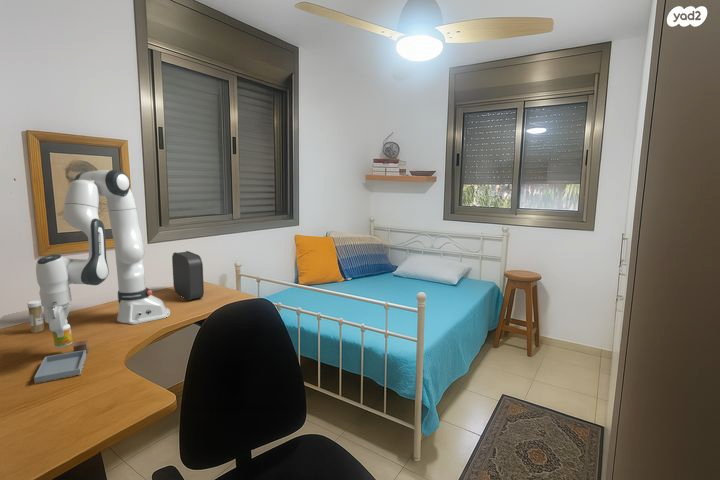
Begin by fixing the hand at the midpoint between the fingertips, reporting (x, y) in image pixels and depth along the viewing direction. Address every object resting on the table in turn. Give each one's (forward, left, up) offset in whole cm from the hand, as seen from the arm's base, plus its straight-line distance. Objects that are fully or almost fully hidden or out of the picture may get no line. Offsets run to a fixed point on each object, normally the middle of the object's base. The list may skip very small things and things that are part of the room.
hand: (62, 333), depth 140 cm
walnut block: (-5, +2, -8) cm, 10 cm away
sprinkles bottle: (+14, -30, -9) cm, 34 cm away
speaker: (-49, -55, -9) cm, 75 cm away
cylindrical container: (+10, -42, -9) cm, 44 cm away
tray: (-1, +14, -8) cm, 16 cm away
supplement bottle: (0, 0, -5) cm, 5 cm away
